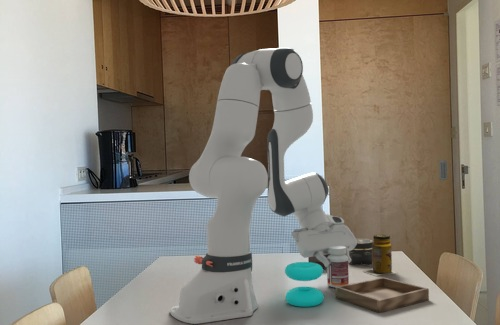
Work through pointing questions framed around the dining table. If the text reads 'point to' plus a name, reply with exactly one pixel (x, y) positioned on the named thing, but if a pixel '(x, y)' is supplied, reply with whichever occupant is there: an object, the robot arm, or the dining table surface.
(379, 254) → the condiment
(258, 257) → the dining table surface
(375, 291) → the tray
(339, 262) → the pill bottle
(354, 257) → the jar
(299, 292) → the donuts
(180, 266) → the dining table surface
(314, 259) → the box
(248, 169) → the robot arm
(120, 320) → the dining table surface
